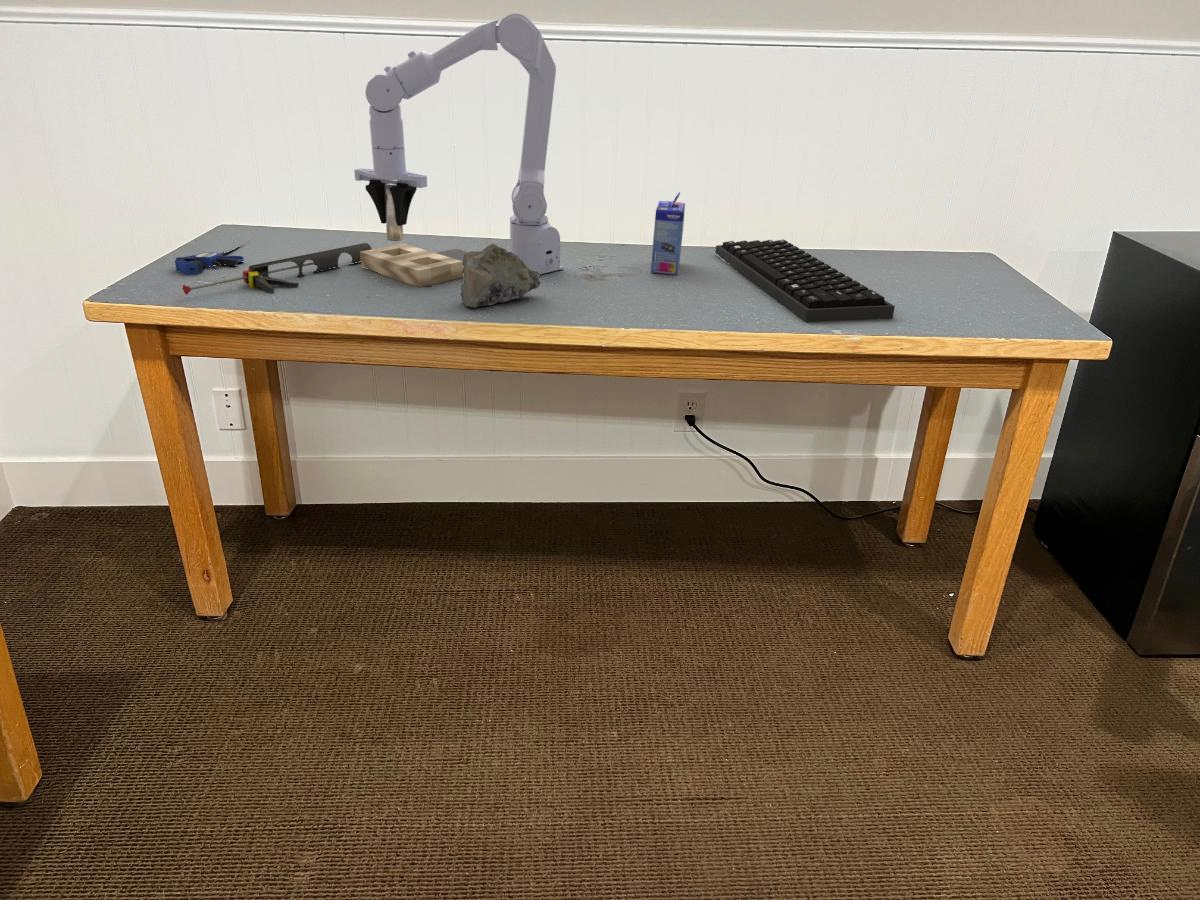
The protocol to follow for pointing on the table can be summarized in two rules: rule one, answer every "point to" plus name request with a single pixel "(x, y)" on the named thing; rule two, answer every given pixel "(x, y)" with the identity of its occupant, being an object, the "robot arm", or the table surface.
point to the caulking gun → (322, 260)
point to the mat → (453, 254)
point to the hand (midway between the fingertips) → (393, 223)
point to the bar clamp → (204, 262)
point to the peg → (391, 216)
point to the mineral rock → (495, 277)
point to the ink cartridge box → (667, 237)
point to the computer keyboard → (803, 282)
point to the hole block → (412, 264)
